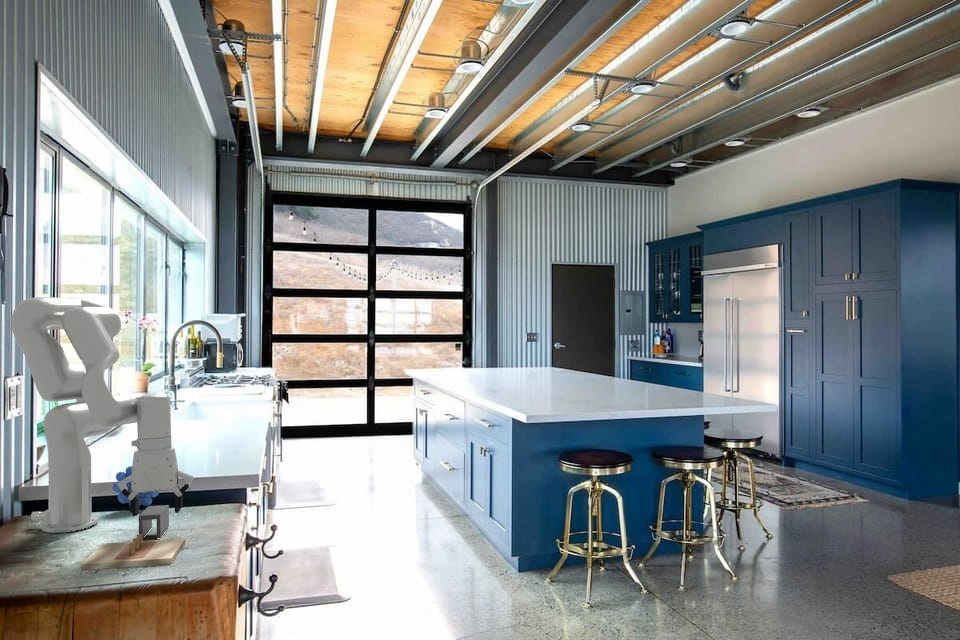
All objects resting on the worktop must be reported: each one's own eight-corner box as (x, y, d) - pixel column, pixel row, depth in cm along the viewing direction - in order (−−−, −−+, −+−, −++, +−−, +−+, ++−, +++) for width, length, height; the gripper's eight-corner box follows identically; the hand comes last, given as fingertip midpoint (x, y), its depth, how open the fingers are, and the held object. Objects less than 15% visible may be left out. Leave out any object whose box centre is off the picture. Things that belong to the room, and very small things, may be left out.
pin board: (80, 570, 145) (80, 552, 145) (102, 548, 159) (102, 532, 159) (171, 563, 149) (171, 546, 149) (185, 543, 163) (185, 527, 163)
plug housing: (138, 541, 165) (138, 516, 165) (148, 529, 174) (148, 506, 174) (160, 539, 166) (160, 514, 166) (169, 528, 175) (168, 505, 175)
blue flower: (112, 514, 187) (112, 470, 187) (112, 508, 193) (112, 466, 193) (159, 508, 193) (159, 466, 193) (157, 503, 199) (157, 462, 199)
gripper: (111, 449, 164) (114, 520, 164) (188, 444, 168) (190, 514, 168) (121, 444, 171) (123, 512, 171) (195, 439, 175) (197, 506, 175)
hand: (156, 513), depth 169 cm, fingers open, 9 cm apart
